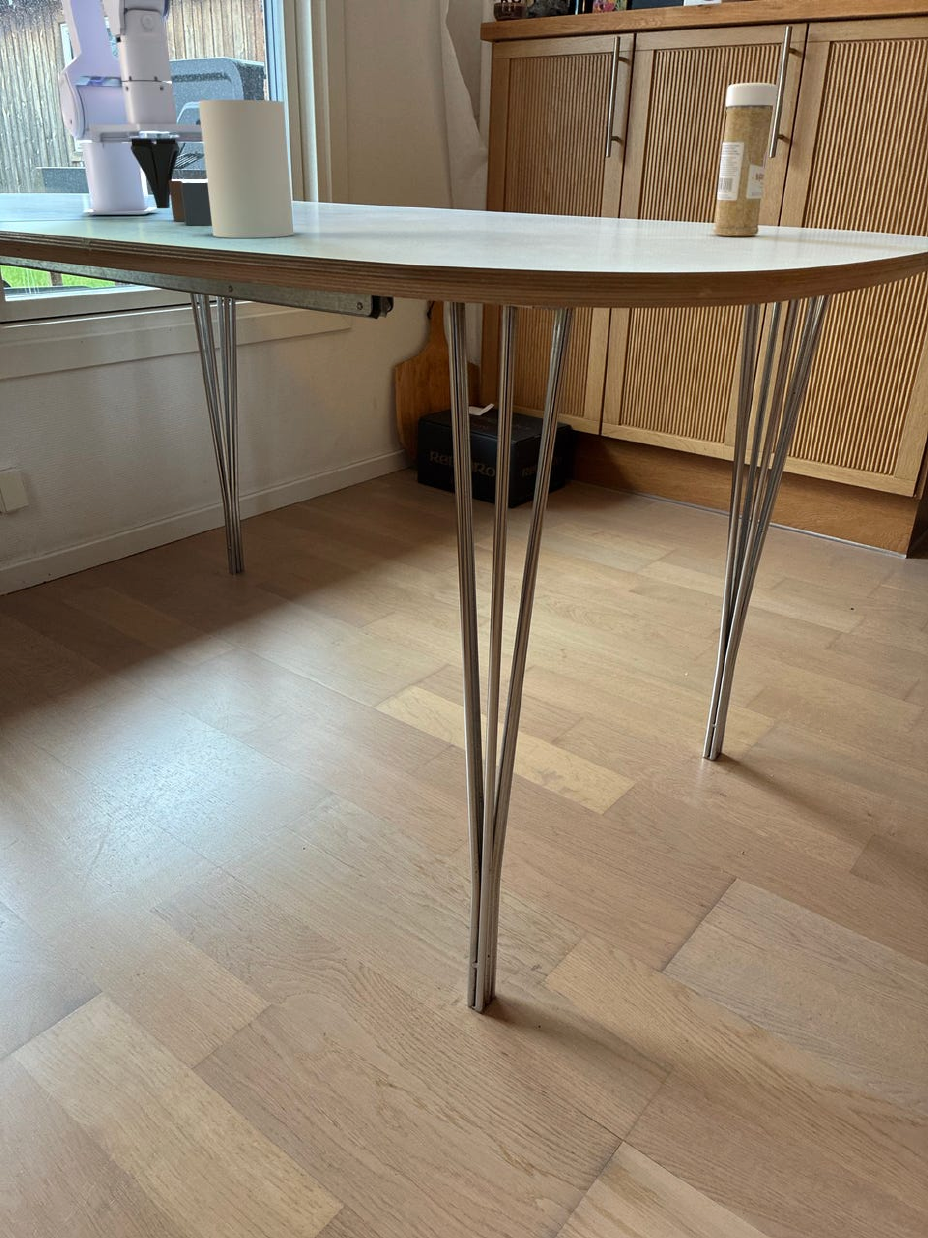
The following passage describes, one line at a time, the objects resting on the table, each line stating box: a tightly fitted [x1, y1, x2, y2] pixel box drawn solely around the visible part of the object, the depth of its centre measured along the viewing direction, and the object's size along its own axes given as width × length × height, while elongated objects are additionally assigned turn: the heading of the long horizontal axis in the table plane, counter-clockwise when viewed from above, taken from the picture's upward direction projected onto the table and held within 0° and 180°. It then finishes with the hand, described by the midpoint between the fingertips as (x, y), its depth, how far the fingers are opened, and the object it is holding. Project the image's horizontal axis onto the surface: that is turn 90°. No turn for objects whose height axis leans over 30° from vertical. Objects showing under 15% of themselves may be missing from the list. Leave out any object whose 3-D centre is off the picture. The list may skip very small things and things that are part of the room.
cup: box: [198, 99, 294, 239], centre depth 94 cm, size 8×8×12 cm
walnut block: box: [169, 178, 207, 222], centre depth 117 cm, size 5×5×5 cm
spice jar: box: [712, 82, 777, 237], centre depth 93 cm, size 5×5×13 cm
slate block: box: [181, 181, 212, 226], centre depth 111 cm, size 5×5×5 cm
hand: (163, 207), depth 117 cm, fingers closed
